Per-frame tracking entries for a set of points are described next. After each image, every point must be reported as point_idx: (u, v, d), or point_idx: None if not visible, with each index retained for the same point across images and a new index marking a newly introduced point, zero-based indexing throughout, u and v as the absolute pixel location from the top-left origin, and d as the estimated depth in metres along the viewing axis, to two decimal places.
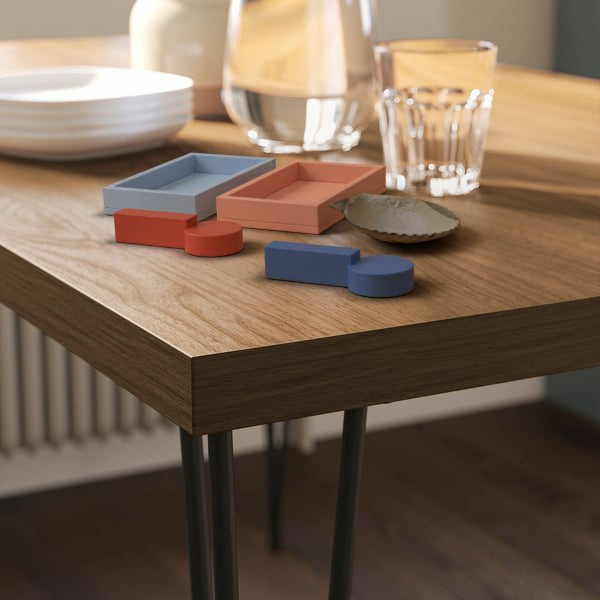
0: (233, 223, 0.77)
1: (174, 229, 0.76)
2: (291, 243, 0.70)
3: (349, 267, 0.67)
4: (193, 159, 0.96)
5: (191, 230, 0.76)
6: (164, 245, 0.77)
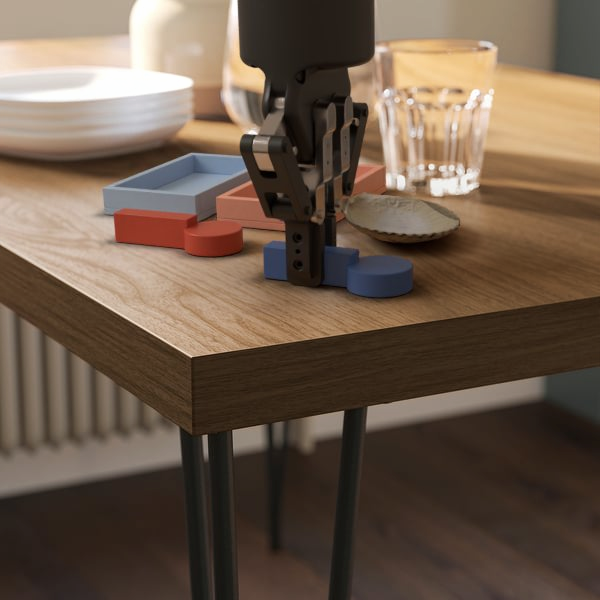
0: (233, 223, 0.77)
1: (174, 229, 0.76)
2: None
3: (348, 267, 0.67)
4: (193, 159, 0.96)
5: (191, 230, 0.76)
6: (164, 245, 0.77)
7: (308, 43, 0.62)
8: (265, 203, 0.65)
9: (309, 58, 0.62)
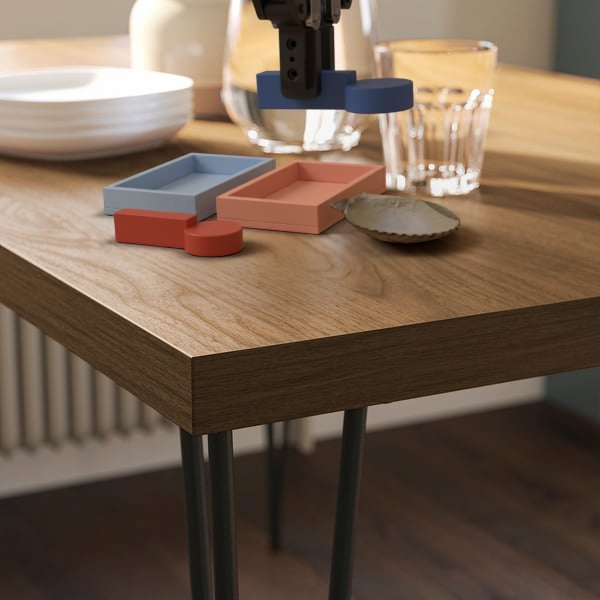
0: (233, 223, 0.77)
1: (174, 229, 0.76)
2: None
3: (345, 86, 0.64)
4: (193, 159, 0.96)
5: (191, 230, 0.76)
6: (164, 245, 0.77)
7: None
8: (257, 0, 0.61)
9: None
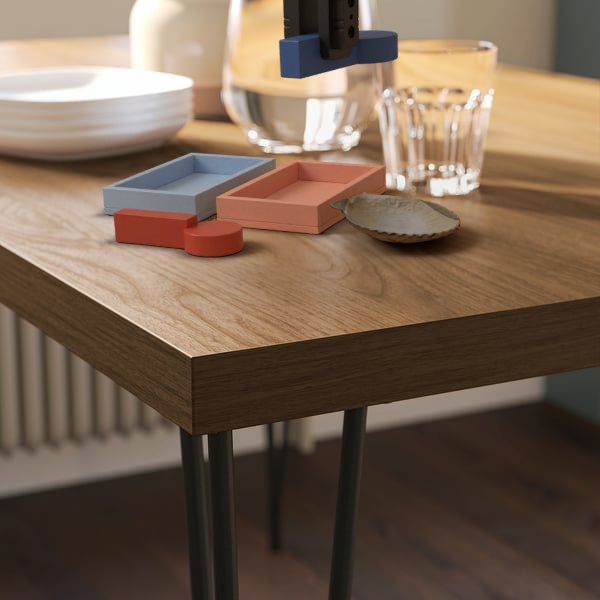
0: (233, 223, 0.77)
1: (174, 229, 0.76)
2: (299, 36, 0.63)
3: (366, 39, 0.66)
4: (193, 159, 0.96)
5: (191, 230, 0.76)
6: (164, 245, 0.77)
7: None
8: None
9: None
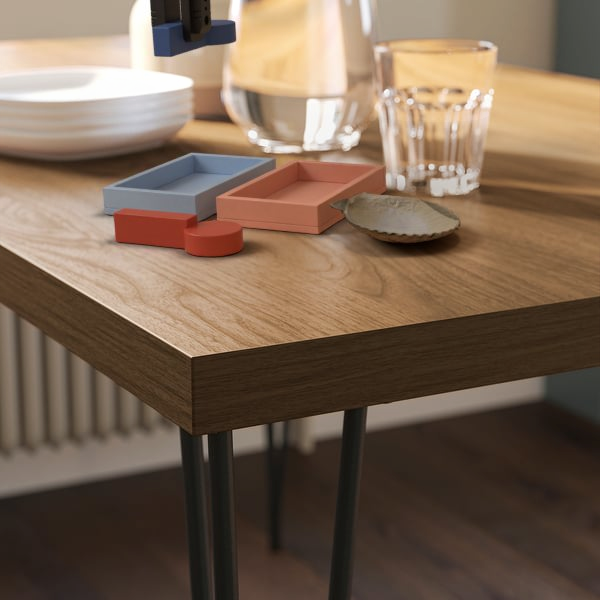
0: (233, 223, 0.77)
1: (174, 229, 0.76)
2: (166, 24, 0.81)
3: (213, 26, 0.85)
4: (193, 159, 0.96)
5: (191, 230, 0.76)
6: (164, 245, 0.77)
7: None
8: None
9: None
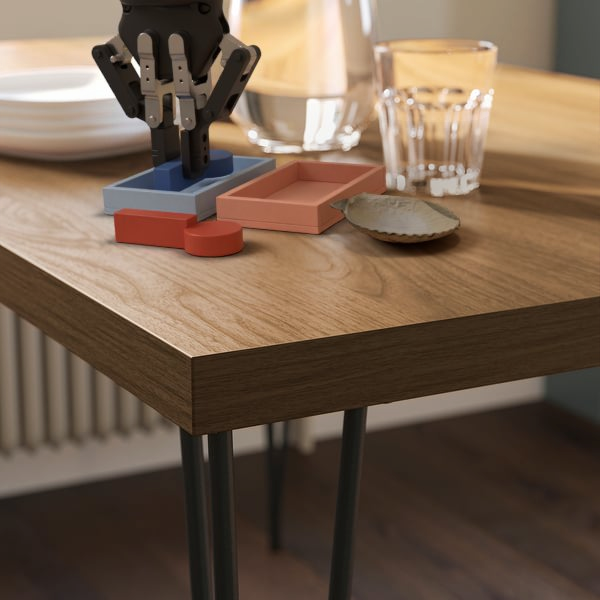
0: (233, 223, 0.77)
1: (174, 229, 0.76)
2: (167, 164, 0.86)
3: (212, 160, 0.90)
4: None
5: (191, 230, 0.76)
6: (164, 245, 0.77)
7: None
8: (224, 106, 0.84)
9: None
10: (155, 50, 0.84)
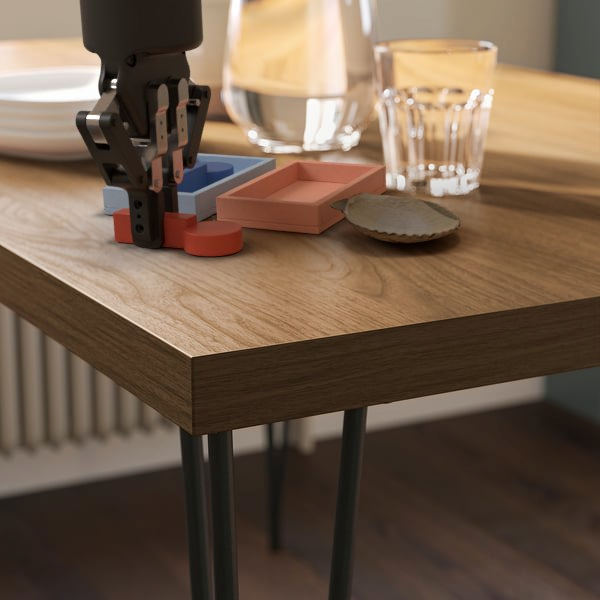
0: (232, 223, 0.77)
1: (173, 229, 0.76)
2: None
3: (212, 172, 0.90)
4: None
5: (190, 230, 0.75)
6: (163, 245, 0.77)
7: (135, 31, 0.70)
8: (104, 172, 0.73)
9: (137, 44, 0.70)
10: None
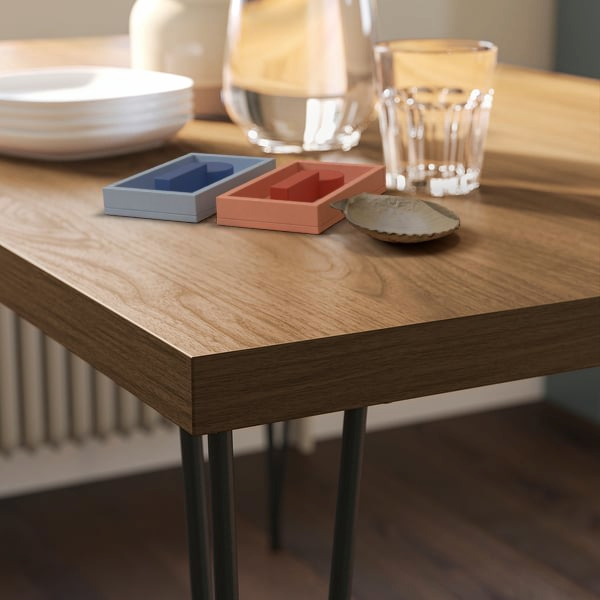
0: (306, 171, 0.89)
1: (314, 184, 0.86)
2: (167, 174, 0.86)
3: (212, 172, 0.90)
4: (193, 159, 0.96)
5: (326, 178, 0.87)
6: (310, 202, 0.85)
7: None
8: None
9: None
10: None
